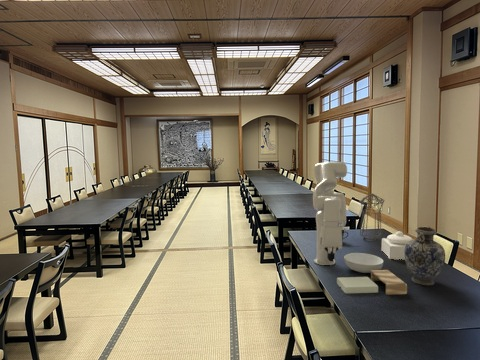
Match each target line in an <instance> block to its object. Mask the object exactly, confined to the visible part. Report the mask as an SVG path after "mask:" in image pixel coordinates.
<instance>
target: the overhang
mask: <svg viewBox="0 0 480 360" xmlns="http://www.w3.org/2000/svg"><path fill="white" fill-rule="evenodd" d="M370 279H371V280H372V281H373V282H378V281H379V282H382V283H383V284H385V295H388V296H390V295H407V293H408V284H407V283H406V282H404V281H403V280H402V279H401V278H399V277H398V275H395V274H394V273H393V272H391V271H390V270H389V269H380V270H371V273H370Z"/></svg>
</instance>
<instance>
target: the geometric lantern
mask: <svg viewBox="0 0 480 360" xmlns="http://www.w3.org/2000/svg"><path fill="white" fill-rule="evenodd" d="M365 200H366V202H365ZM374 201H376V202H375V203H374ZM358 202H359V203H360V205H361V206H360V207H363V205H364V209H363V208H361V220H360V221H361V222H360V230H359V235H360V236H361V237H362V238H363V239H364V238H365V237H368V238H367V240H368V242H370V240H373V241H375V242H377V240H376V239H377V238H379V237H380V236H381V235H382V215H381V214H382V213H381V211H382V207H383V205H384V203H385V199H384V198H381V197H380V196H377V194H374V193H369V194H367V195H366V196H365V197H362V199H361V200H359V201H358ZM368 202H370V203H368ZM368 205H369V206H368ZM379 205H380V207H379ZM376 206H377V208H378V209H376V211H378V212H375V209H374V208H373V207H376ZM370 208H371V209H370ZM369 211H372V214H373V215H374V231H373V230H368V223H366V221H368V219H369ZM365 215H366V216H365ZM376 215H377V216H376ZM377 219H379V223H377V221H376V220H377ZM365 223H366V224H365ZM376 224H377V227H376ZM365 225H366V226H365ZM376 230H377V231H376ZM366 232H371V233H374V234H373V235H371V234H367V233H366ZM373 238H374V239H373ZM365 239H366V238H365ZM369 239H370V240H369Z"/></svg>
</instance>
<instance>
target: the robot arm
mask: <svg viewBox="0 0 480 360" xmlns="http://www.w3.org/2000/svg"><path fill="white" fill-rule="evenodd" d="M313 172H314V177H315V180H316V183H317V185H316V186H315V187H314V189H313V191H312V205H313V208H314V210H316V211H317V212H316V214H315V223H316V224H315V225H316V257H315V258H314V259H313V262H314V263H315V264H317V265H318V266H319V265H320V266H324V265H330V266H333V265H335V264H336V260H335V254H336V252H337V251H338V250H342V249H343V242H342V231H341V227H342V228H344V227H346V224H347V201H346V200H347V199H346V195H345V194H344V193H342V192H334V191H333V190H334V189H335V188H336V187H337V185H338V181H337V180H338V179H337V178H345V177H346V176H347V174H348V167H347V164H346V163H345V162H343V161H326V162H318V163H316V164H315V165H314V167H313Z"/></svg>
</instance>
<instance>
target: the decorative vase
mask: <svg viewBox="0 0 480 360" xmlns="http://www.w3.org/2000/svg"><path fill="white" fill-rule="evenodd" d="M415 233H417V238H414V239H413V238H412V239H413V240H411V241H409V242H408V243H407V244H406V246H405V250H404V256H405V260H404V261H405V265H406V269H407V271H408V272H409V273H410V274H411V275H412V277H411V281H412V283H415V284H417V285H422V286H429V287H430V286H433V285H435V280H434V279H435V278H436V277H437V276H439V275H440V273H441V272H442V270H443V268H444V265H445V262H446V250H445V248H444V247H443V245H442V244H440V243H439V242H437V241H435V240H434V239H435V238H434V236H435V235H438V233H437V231H436V230H435V229H434V228H432V227H430V226H427V227H425V226H422V227H421V226H420V227H419V226H418V228H417V229H415Z"/></svg>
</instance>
